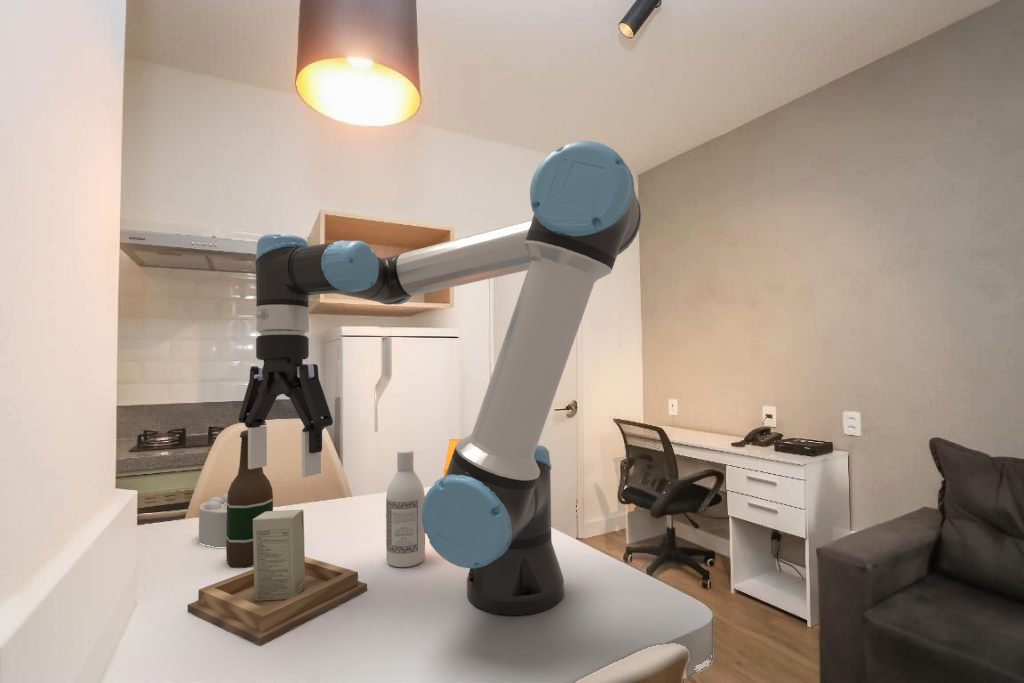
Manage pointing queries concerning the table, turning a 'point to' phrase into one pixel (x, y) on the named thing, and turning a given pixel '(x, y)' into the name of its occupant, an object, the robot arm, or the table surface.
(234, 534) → the beer bottle
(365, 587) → the wooden tray
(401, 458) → the bath foam
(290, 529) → the skincare box
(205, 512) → the lumpy-topped squat cylinder
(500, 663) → the table surface
